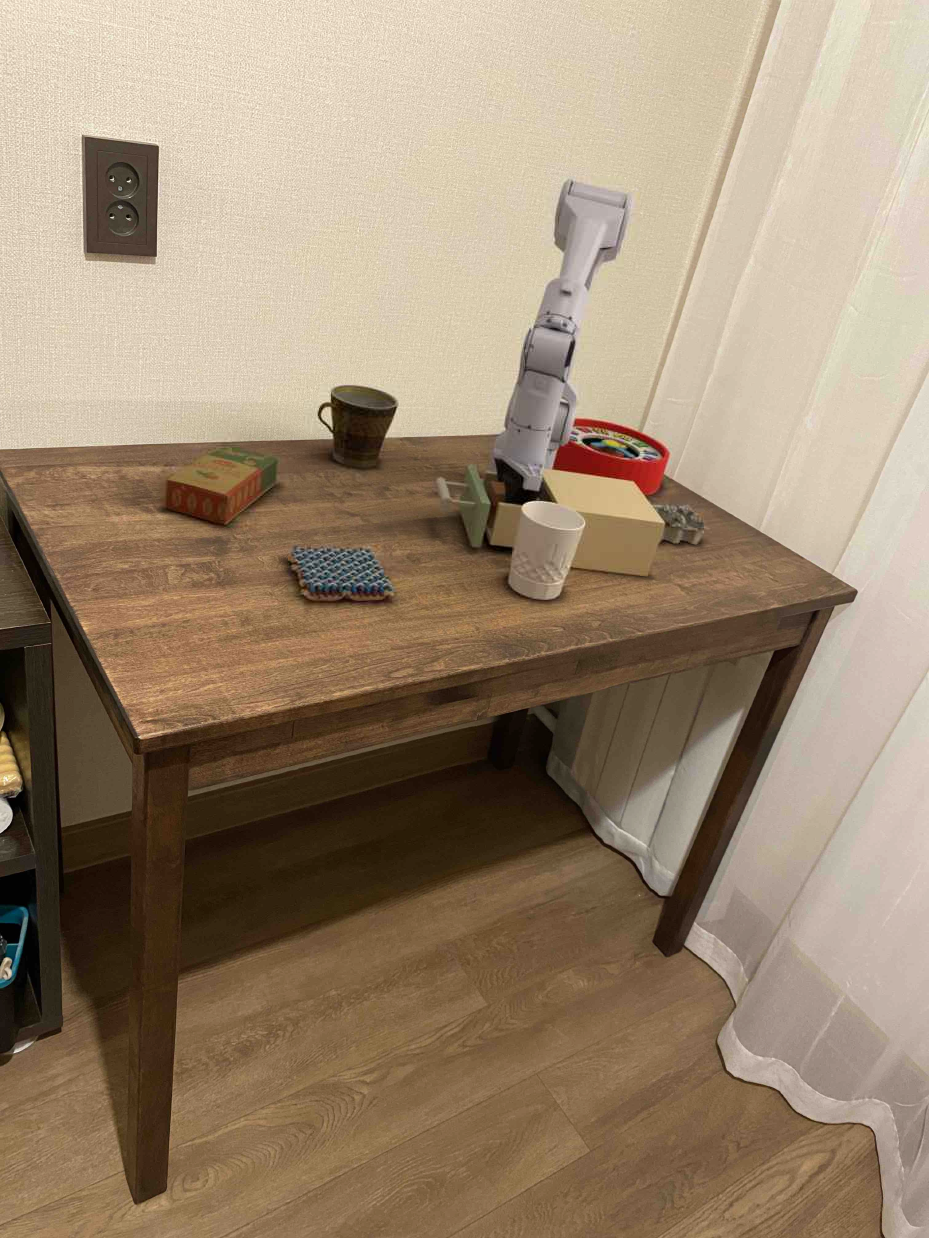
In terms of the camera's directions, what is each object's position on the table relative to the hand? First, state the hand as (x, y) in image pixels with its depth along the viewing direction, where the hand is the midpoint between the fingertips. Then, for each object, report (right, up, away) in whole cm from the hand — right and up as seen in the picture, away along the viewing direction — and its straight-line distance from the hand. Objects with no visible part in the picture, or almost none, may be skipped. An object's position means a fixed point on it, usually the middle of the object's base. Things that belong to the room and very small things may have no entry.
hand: (507, 518), depth 124 cm
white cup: (+3, -10, -10) cm, 14 cm away
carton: (-37, +2, -6) cm, 38 cm away
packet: (0, -1, 0) cm, 1 cm away
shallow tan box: (+11, -4, +4) cm, 12 cm away
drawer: (-2, -1, +1) cm, 2 cm away
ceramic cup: (-24, +10, +14) cm, 29 cm away
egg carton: (+25, -1, +15) cm, 29 cm away
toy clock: (+18, +12, +34) cm, 40 cm away
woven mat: (-20, -9, -19) cm, 29 cm away
